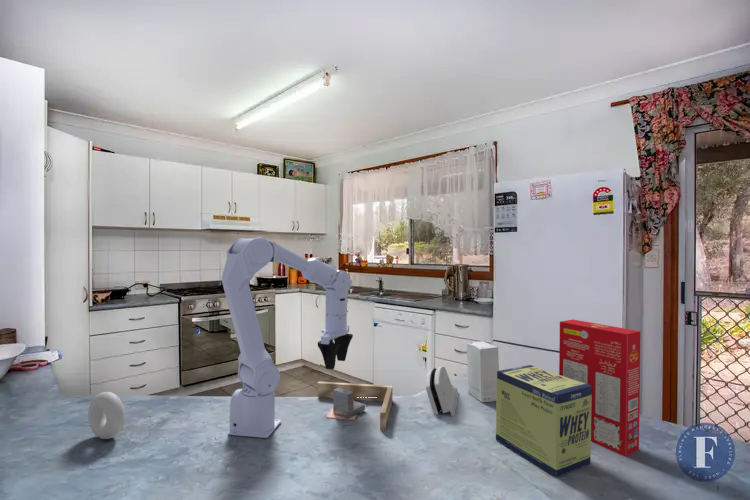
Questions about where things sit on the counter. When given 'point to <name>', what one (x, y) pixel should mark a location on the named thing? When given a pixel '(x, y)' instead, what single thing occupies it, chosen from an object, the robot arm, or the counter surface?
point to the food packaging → (606, 379)
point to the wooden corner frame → (362, 395)
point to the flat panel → (338, 416)
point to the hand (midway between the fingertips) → (335, 364)
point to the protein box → (544, 418)
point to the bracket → (346, 404)
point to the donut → (106, 415)
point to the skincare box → (482, 370)
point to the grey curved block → (441, 391)
